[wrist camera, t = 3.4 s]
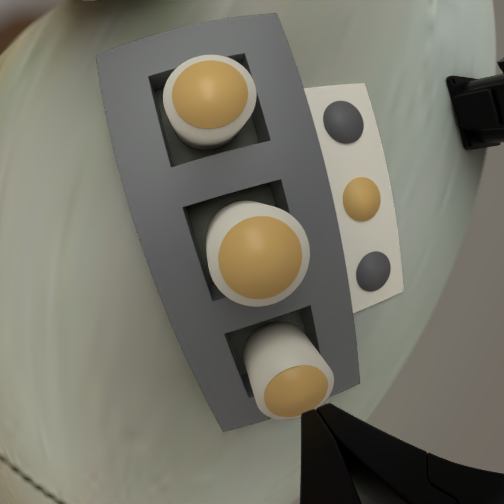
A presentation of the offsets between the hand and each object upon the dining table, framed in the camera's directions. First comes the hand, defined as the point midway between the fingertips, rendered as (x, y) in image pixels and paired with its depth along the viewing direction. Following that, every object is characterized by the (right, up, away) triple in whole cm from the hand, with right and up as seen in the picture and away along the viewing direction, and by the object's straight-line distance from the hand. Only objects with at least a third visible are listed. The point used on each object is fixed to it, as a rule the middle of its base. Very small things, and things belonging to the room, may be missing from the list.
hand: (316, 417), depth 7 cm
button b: (-2, +5, +8) cm, 10 cm away
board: (-3, +6, +10) cm, 12 cm away
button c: (0, -1, +10) cm, 10 cm away
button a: (-4, +12, +8) cm, 15 cm away
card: (+5, +8, +11) cm, 14 cm away
